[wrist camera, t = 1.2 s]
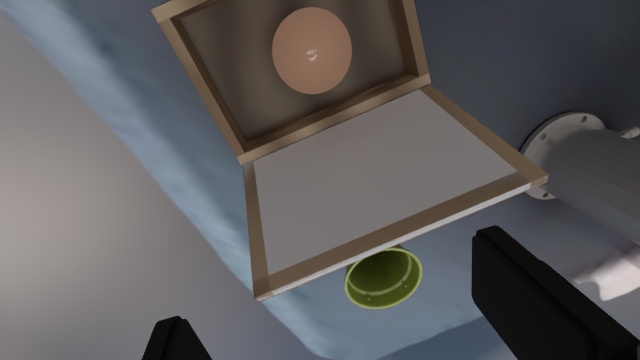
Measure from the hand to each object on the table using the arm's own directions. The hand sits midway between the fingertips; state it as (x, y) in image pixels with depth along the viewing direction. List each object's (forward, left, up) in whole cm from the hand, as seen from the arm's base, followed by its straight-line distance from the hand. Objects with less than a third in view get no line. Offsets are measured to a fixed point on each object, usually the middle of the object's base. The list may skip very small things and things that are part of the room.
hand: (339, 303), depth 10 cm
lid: (-4, +4, -15) cm, 16 cm away
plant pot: (-2, +21, -28) cm, 34 cm away
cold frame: (-4, -5, -27) cm, 28 cm away
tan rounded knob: (-4, -5, -26) cm, 27 cm away
